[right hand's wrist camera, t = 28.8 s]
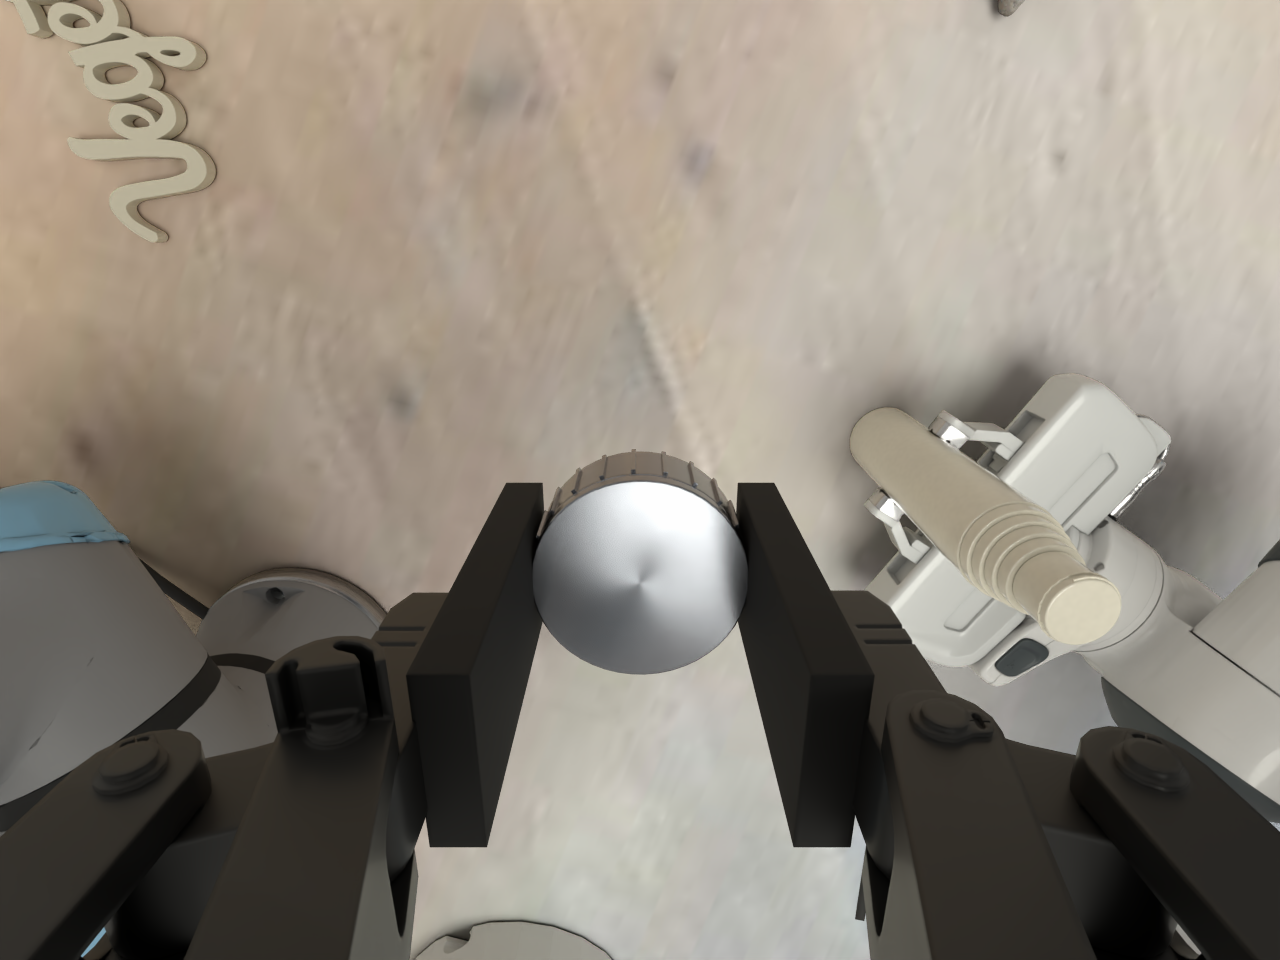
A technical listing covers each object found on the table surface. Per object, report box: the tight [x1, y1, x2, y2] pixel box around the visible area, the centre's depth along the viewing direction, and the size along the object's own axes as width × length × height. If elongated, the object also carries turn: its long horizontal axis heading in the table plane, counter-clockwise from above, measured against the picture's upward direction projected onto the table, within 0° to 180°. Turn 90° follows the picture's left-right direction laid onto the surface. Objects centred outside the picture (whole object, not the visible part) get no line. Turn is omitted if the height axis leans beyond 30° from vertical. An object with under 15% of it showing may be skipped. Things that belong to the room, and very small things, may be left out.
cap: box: [532, 449, 749, 674], centre depth 14 cm, size 4×4×2 cm
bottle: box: [850, 407, 1122, 645], centre depth 38 cm, size 5×5×23 cm
